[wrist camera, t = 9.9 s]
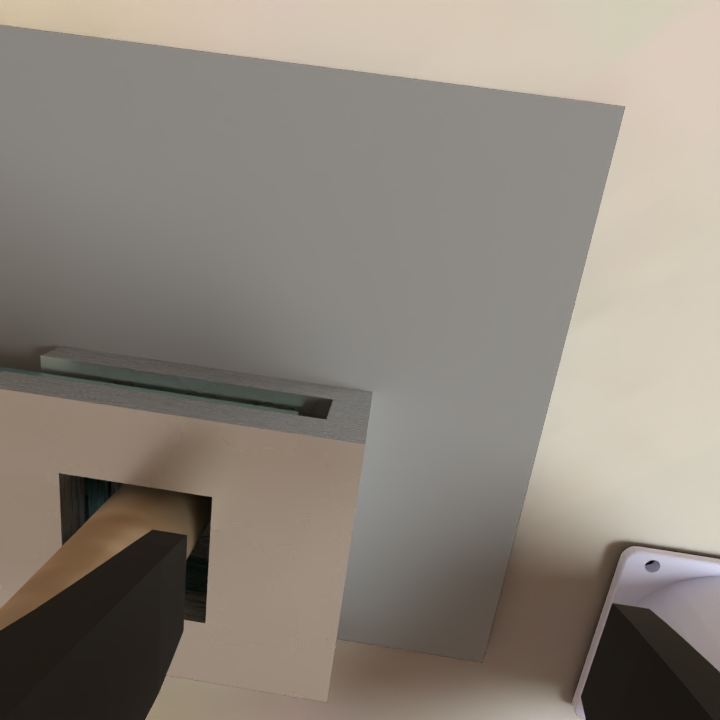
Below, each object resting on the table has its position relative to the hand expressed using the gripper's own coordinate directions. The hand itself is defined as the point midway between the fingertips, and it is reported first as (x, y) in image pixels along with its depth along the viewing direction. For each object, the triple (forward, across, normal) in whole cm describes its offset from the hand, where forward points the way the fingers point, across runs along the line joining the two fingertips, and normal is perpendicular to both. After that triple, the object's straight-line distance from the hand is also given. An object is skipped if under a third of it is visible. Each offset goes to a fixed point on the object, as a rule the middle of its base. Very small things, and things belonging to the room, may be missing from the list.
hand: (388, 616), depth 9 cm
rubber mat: (+10, +6, 0) cm, 12 cm away
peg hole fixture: (+9, +8, +4) cm, 13 cm away
